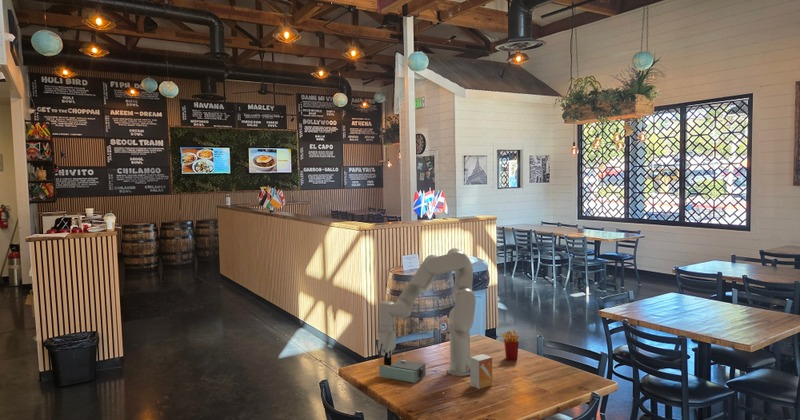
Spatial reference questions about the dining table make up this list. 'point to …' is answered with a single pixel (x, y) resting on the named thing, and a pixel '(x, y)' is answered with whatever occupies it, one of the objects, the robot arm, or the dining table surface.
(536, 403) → the dining table surface
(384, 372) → the door
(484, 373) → the small box
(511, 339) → the french fries
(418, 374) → the box
